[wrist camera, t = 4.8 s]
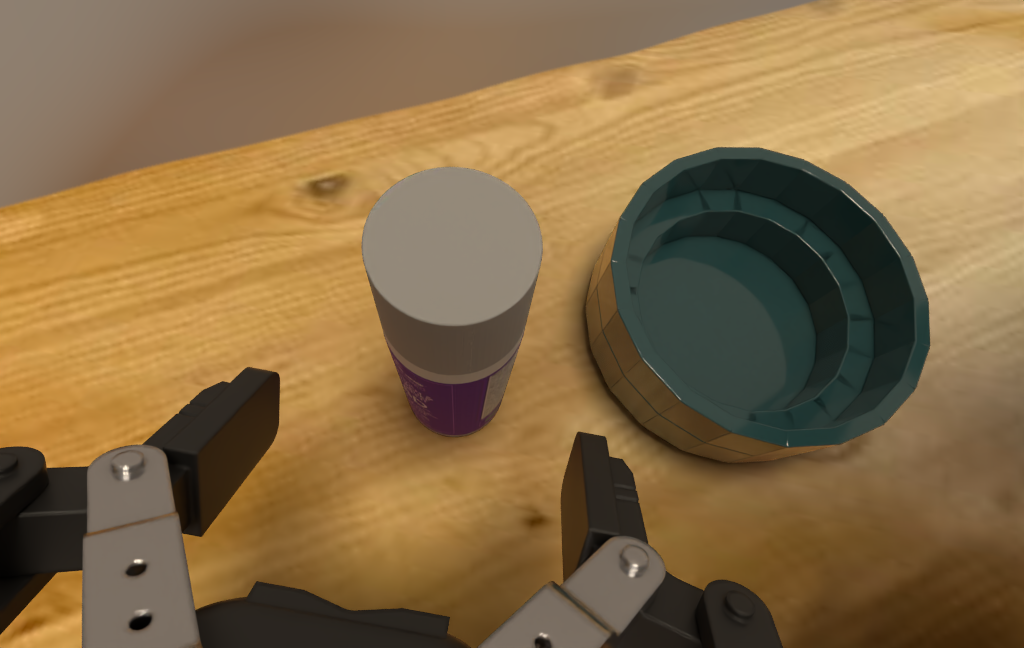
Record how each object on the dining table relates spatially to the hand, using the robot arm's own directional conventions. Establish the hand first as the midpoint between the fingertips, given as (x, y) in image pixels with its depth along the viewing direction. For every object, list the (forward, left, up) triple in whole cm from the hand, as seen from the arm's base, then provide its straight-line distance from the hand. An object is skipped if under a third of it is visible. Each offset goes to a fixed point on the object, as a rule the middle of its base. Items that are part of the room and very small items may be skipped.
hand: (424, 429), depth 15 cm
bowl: (-16, +3, -12) cm, 20 cm away
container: (-3, -3, -12) cm, 13 cm away
